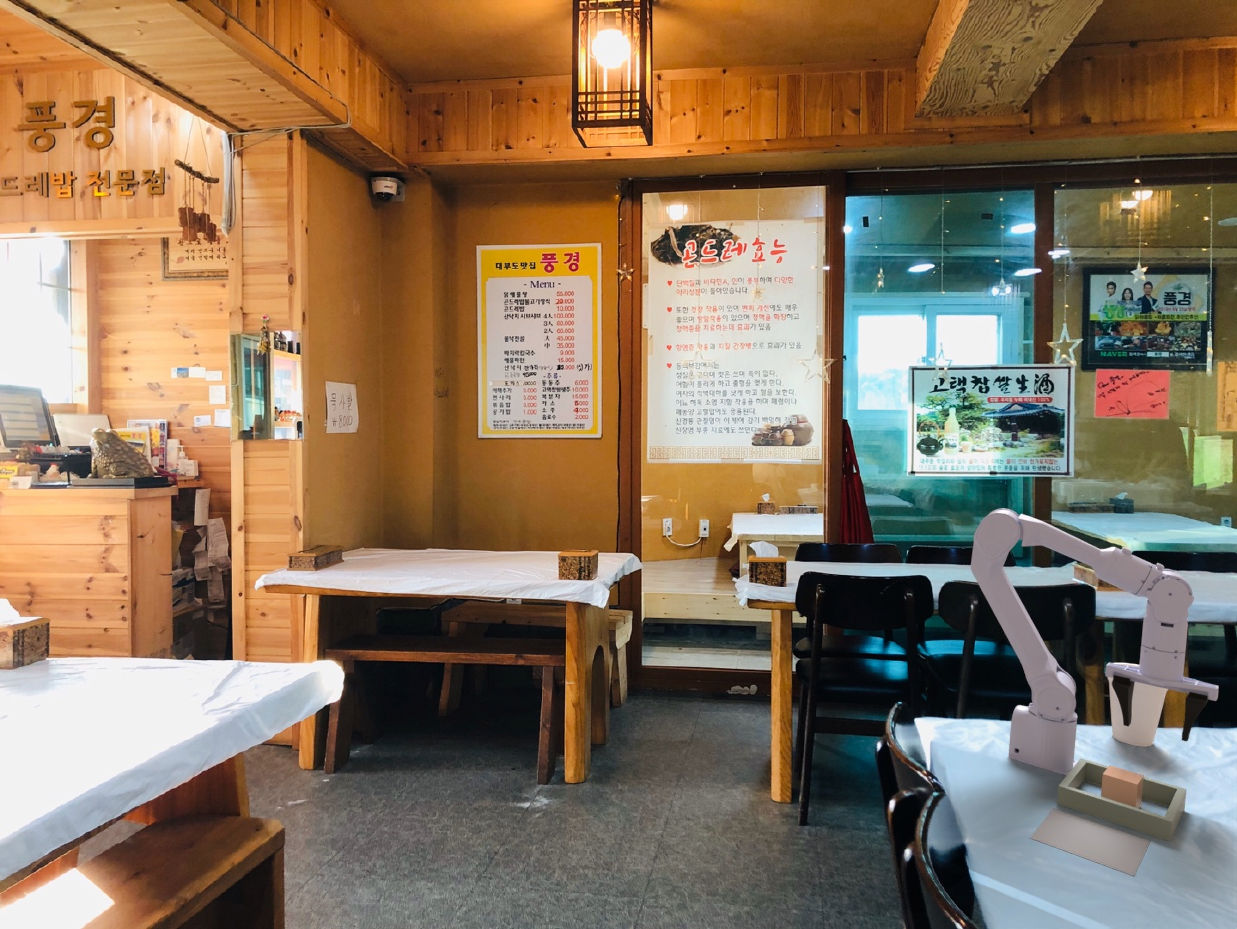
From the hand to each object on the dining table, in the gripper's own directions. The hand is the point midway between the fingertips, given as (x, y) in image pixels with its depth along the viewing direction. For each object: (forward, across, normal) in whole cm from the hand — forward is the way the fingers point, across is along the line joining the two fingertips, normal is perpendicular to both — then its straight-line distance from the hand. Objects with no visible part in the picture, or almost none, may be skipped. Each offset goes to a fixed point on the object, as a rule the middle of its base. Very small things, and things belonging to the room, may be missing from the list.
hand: (1155, 731), depth 123 cm
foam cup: (+10, -6, +22) cm, 25 cm away
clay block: (+9, -2, -12) cm, 15 cm away
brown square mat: (+9, -3, -27) cm, 29 cm away
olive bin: (+9, -2, -12) cm, 15 cm away
